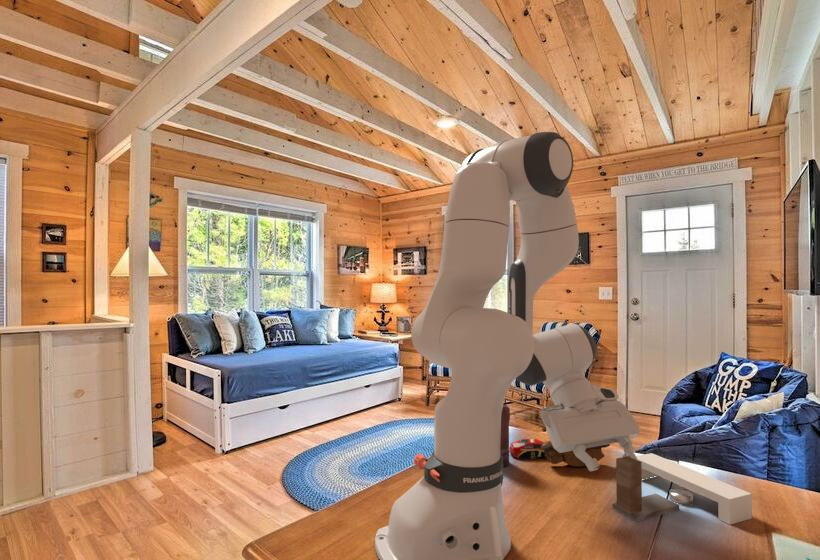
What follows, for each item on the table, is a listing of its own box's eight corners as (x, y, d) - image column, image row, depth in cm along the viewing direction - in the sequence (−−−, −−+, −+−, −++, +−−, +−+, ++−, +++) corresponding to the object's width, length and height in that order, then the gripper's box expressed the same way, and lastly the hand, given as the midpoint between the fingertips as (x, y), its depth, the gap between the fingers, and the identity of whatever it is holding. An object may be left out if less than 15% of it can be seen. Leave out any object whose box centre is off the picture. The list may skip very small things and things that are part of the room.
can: (510, 469, 102) (510, 408, 102) (482, 467, 103) (482, 407, 103) (509, 459, 108) (509, 402, 108) (483, 457, 109) (483, 400, 109)
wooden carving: (549, 472, 100) (549, 428, 100) (540, 464, 105) (539, 422, 105) (613, 466, 103) (613, 424, 104) (601, 459, 108) (601, 418, 108)
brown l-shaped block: (634, 522, 79) (633, 466, 79) (612, 509, 84) (612, 456, 84) (679, 510, 83) (678, 457, 83) (655, 498, 88) (655, 448, 88)
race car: (558, 452, 113) (558, 436, 113) (566, 460, 108) (566, 444, 108) (507, 452, 113) (507, 436, 113) (512, 460, 108) (512, 444, 108)
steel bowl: (683, 508, 84) (683, 499, 84) (664, 498, 88) (664, 490, 88) (698, 504, 86) (697, 495, 86) (678, 495, 90) (678, 487, 90)
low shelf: (729, 524, 78) (729, 499, 78) (632, 477, 98) (631, 456, 98) (751, 518, 80) (751, 493, 80) (651, 473, 100) (651, 453, 100)
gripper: (543, 399, 88) (579, 467, 79) (621, 389, 95) (662, 450, 86) (530, 415, 92) (563, 481, 83) (605, 405, 99) (643, 464, 90)
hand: (614, 465), depth 84 cm, fingers open, 8 cm apart
